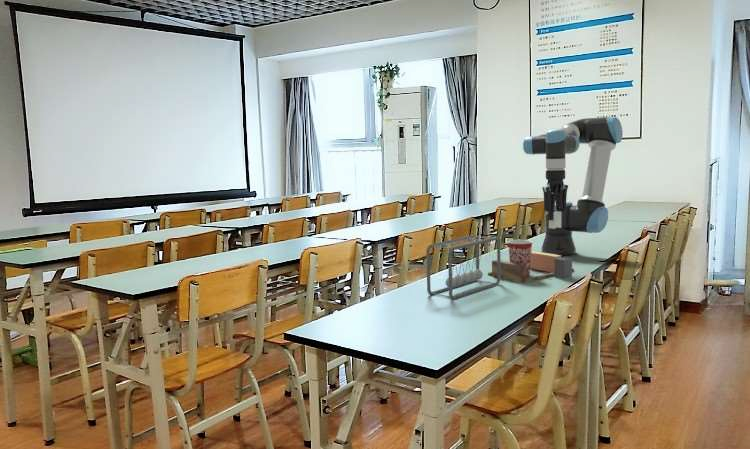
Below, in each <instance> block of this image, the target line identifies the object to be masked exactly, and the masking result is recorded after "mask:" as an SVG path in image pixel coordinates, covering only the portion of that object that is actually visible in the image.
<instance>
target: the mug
mask: <svg viewBox="0 0 750 449" xmlns="http://www.w3.org/2000/svg"><path fill="white" fill-rule="evenodd" d="M507 244H508V254H509V255H508V256H509V262H513V263H518V264H524V265H525V279H527V278H530V276H531V268H530V265H531V251H532V244H533V241H532V240H527V239H512V240H508V241H507Z"/></svg>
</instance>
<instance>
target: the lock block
mask: <svg viewBox="0 0 750 449" xmlns="http://www.w3.org/2000/svg"><path fill="white" fill-rule="evenodd" d="M572 269H573V258H567V257H562V256H561V258H557V259H555V276H554V278H558V279H563V280H566V279H569V278H572V277H573V272H572Z"/></svg>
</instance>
